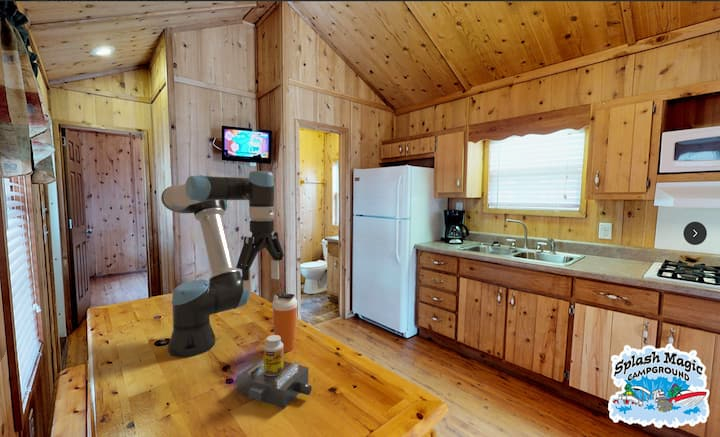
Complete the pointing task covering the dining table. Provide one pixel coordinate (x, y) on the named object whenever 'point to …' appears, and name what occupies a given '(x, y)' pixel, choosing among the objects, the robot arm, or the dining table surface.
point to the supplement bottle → (273, 356)
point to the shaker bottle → (285, 319)
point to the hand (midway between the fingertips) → (262, 284)
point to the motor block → (274, 383)
